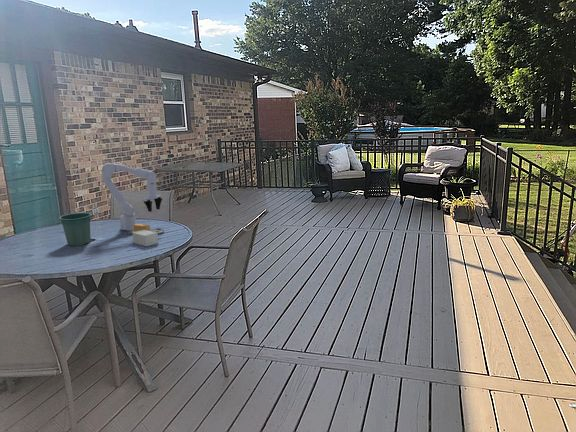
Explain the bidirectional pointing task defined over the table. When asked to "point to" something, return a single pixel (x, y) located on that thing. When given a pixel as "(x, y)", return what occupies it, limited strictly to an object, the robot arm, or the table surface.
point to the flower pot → (76, 228)
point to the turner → (143, 227)
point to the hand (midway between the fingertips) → (154, 210)
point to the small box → (145, 237)
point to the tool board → (156, 232)
